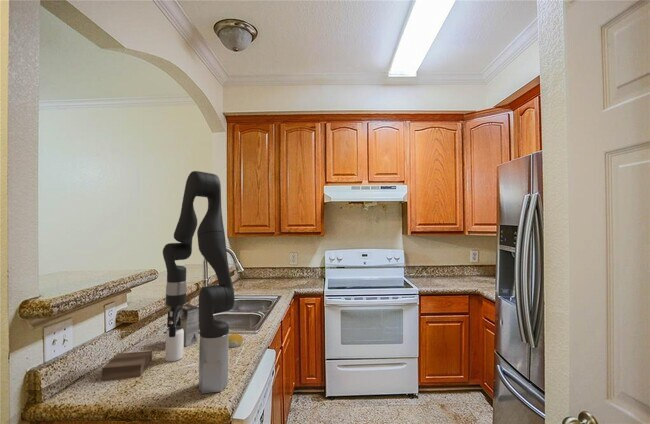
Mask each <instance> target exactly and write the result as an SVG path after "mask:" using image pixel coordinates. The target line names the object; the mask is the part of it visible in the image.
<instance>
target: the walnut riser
mask: <svg viewBox="0 0 650 424" xmlns="http://www.w3.org/2000/svg"><path fill="white" fill-rule="evenodd" d="M152 361H153V350H149V351H138V352H137V351H136V352H124V353H117V354H116V355H115V356H113V358H111V360H109V361H108V363H106V364H105V365H104V366H103V367H102V371H101V380H102V381H103V380H113V379H114V380H116V379H126V378H135V377H136V378H138V377H141V376H142V375H143V374H144V372H145V371H147V370H146V369H148V367H149V366H150V364H151V363H152Z"/></svg>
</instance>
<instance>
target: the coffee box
mask: <svg viewBox="0 0 650 424" xmlns="http://www.w3.org/2000/svg"><path fill="white" fill-rule="evenodd" d="M180 320H181V326H182V327H183V330H184V347H188V346H191V345H195V344H197V343H198V342H199V306H196V305H193V304H189V303H187V304H186V303H185V304H184V305H183V316H182V319H180Z"/></svg>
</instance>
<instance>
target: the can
mask: <svg viewBox="0 0 650 424" xmlns="http://www.w3.org/2000/svg"><path fill="white" fill-rule="evenodd" d="M166 329H167V330H166V333H165V355H164V356H165V361H166V362H171V363H172V362H178V361H180V360H182V359H183V358H184V350H185V349H184V347H185V346H184V330H183V327H182V326H176V335H175V337H169V327H167V328H166Z"/></svg>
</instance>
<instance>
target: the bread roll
mask: <svg viewBox="0 0 650 424" xmlns="http://www.w3.org/2000/svg"><path fill="white" fill-rule="evenodd" d="M243 341H244V339H243V337H242V335H241V334H239V333H233V334H229V345H228V348H236V347H240V346H241V345H242V343H243Z"/></svg>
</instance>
